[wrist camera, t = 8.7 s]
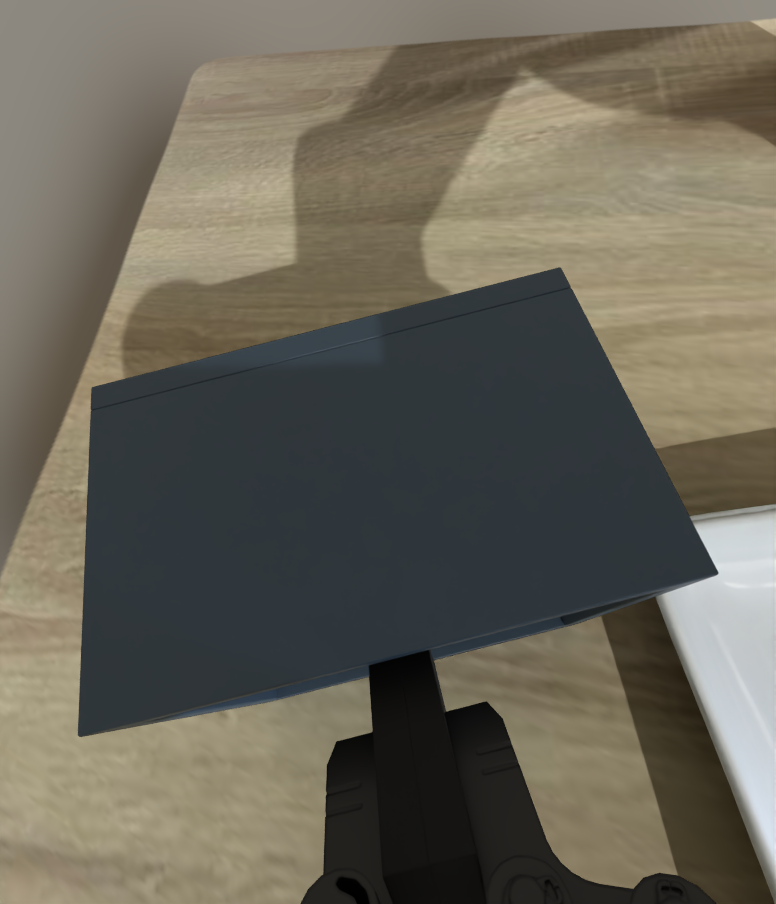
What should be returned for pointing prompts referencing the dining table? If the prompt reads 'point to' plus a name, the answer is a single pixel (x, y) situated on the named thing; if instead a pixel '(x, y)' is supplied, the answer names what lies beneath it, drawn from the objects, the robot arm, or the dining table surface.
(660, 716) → the dining table surface
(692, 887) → the robot arm
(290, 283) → the dining table surface
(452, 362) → the navy storage bin
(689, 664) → the square plate
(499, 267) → the dining table surface
